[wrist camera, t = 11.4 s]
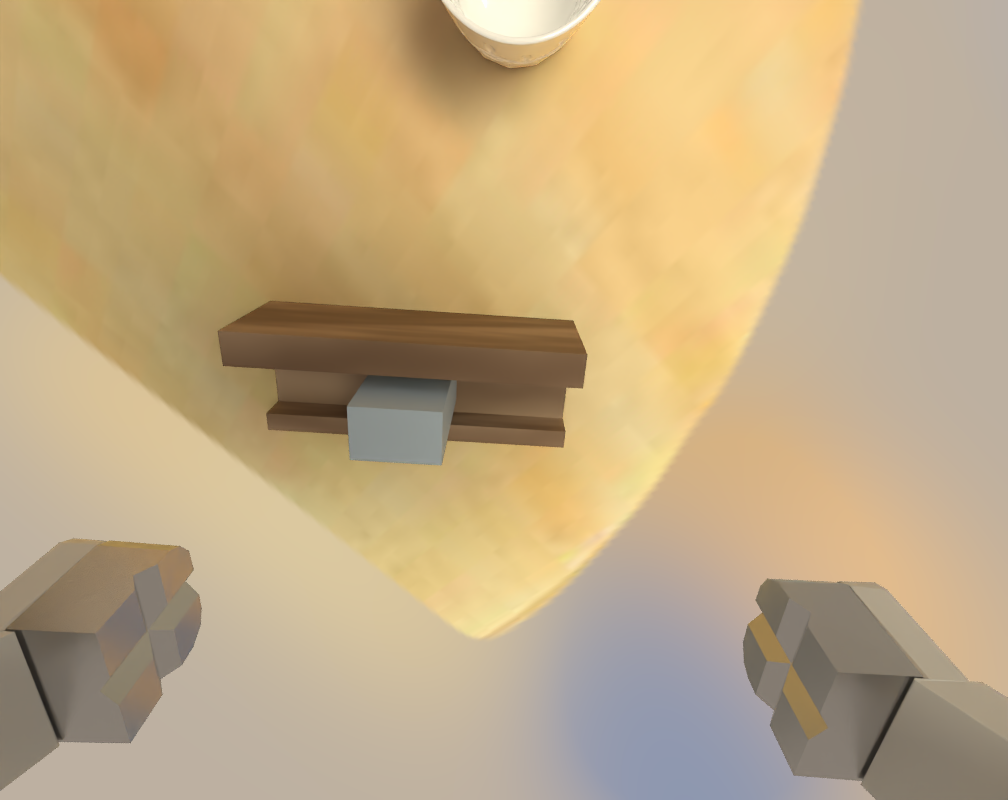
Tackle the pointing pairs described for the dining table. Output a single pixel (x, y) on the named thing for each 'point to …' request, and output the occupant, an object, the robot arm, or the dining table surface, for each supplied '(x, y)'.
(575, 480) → the dining table surface
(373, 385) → the cabinet block
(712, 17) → the dining table surface
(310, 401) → the cleat board
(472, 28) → the white cup
